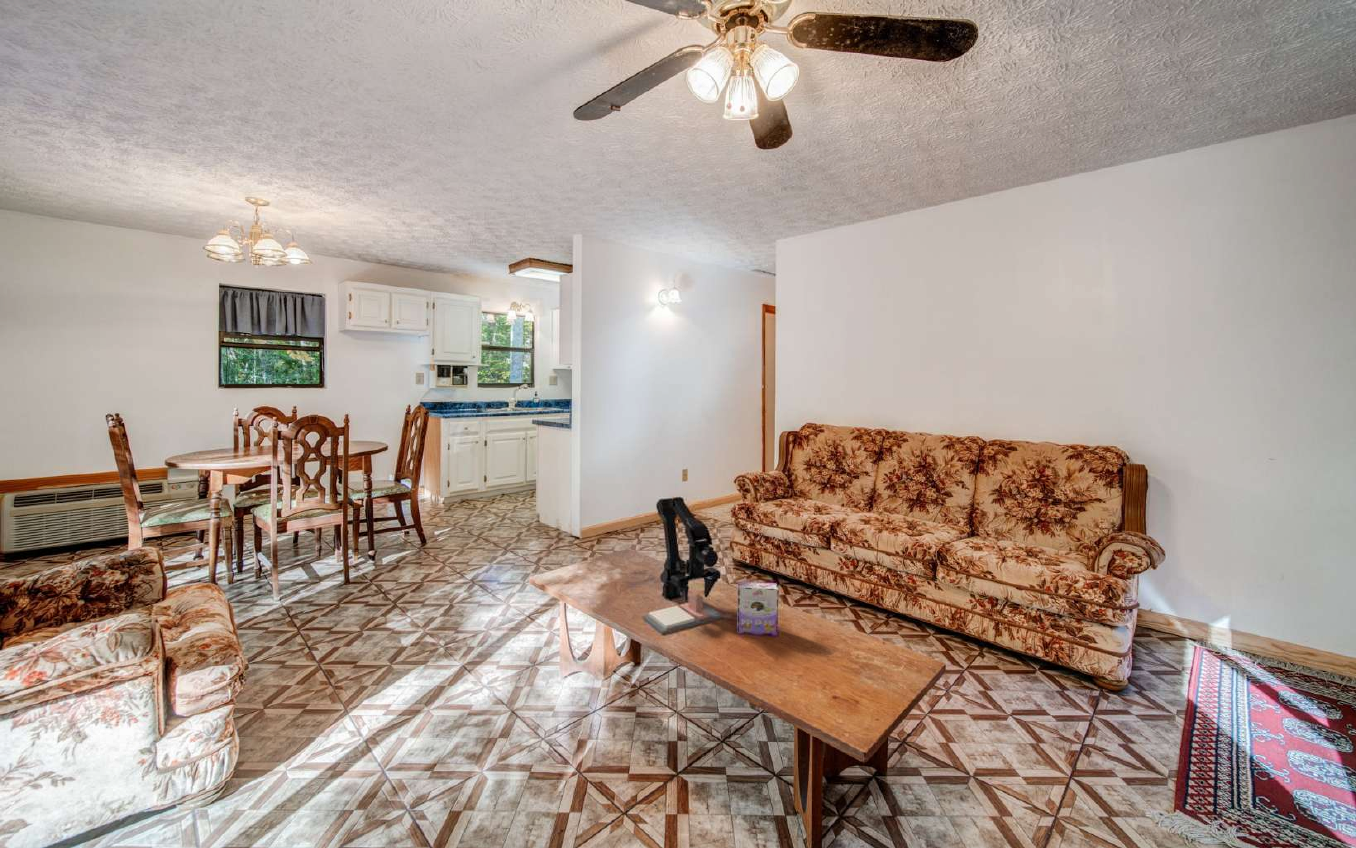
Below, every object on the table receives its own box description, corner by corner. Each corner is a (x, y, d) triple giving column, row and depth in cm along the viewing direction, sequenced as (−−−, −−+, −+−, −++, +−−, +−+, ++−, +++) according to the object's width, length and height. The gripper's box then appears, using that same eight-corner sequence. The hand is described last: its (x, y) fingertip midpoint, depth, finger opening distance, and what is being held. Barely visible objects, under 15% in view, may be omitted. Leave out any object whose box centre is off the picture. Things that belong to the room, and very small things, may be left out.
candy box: (776, 628, 184) (777, 582, 183) (777, 636, 178) (779, 589, 177) (736, 625, 185) (737, 580, 184) (736, 633, 179) (738, 587, 178)
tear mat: (701, 604, 203) (701, 601, 203) (723, 617, 191) (723, 615, 191) (642, 618, 189) (642, 616, 189) (662, 634, 178) (662, 631, 177)
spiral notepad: (678, 608, 196) (678, 605, 196) (696, 621, 186) (696, 617, 186) (648, 615, 189) (648, 612, 189) (665, 629, 179) (665, 625, 179)
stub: (692, 604, 200) (692, 589, 199) (710, 616, 189) (710, 600, 189) (679, 608, 197) (679, 591, 196) (697, 620, 186) (697, 603, 186)
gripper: (704, 548, 204) (703, 587, 205) (663, 556, 194) (662, 596, 195) (722, 556, 194) (720, 597, 195) (679, 565, 184) (678, 608, 185)
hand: (695, 599), depth 193 cm, fingers open, 9 cm apart
